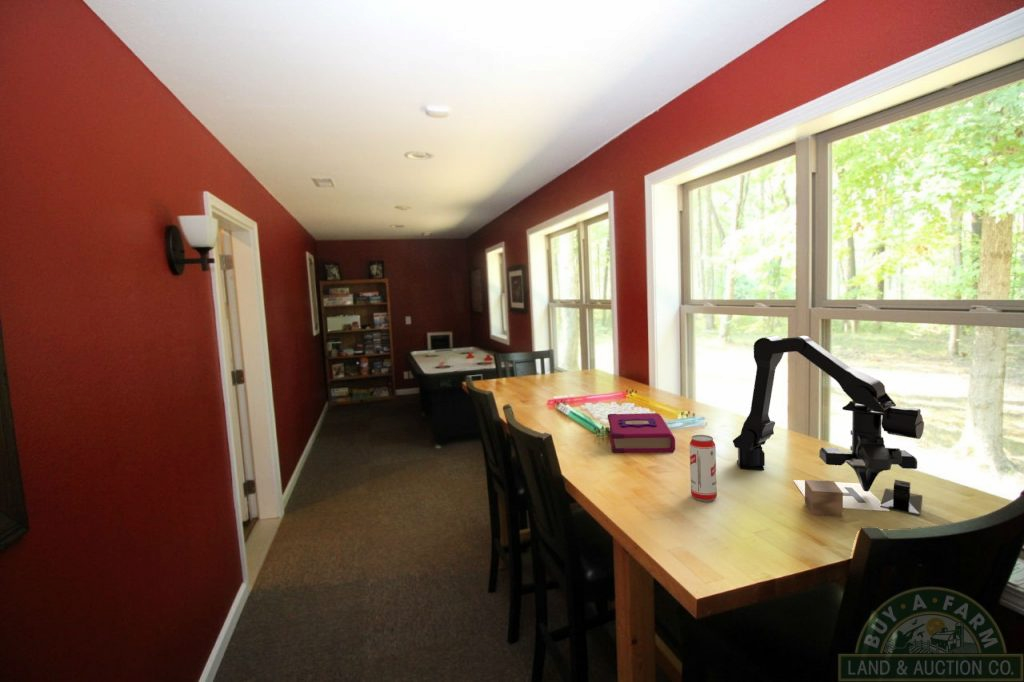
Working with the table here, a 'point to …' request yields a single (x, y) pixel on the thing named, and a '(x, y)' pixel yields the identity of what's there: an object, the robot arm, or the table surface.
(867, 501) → the letter tile
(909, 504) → the black stand
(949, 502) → the table surface
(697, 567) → the table surface
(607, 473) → the table surface
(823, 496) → the cube
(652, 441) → the book
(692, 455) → the beer can
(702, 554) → the table surface
